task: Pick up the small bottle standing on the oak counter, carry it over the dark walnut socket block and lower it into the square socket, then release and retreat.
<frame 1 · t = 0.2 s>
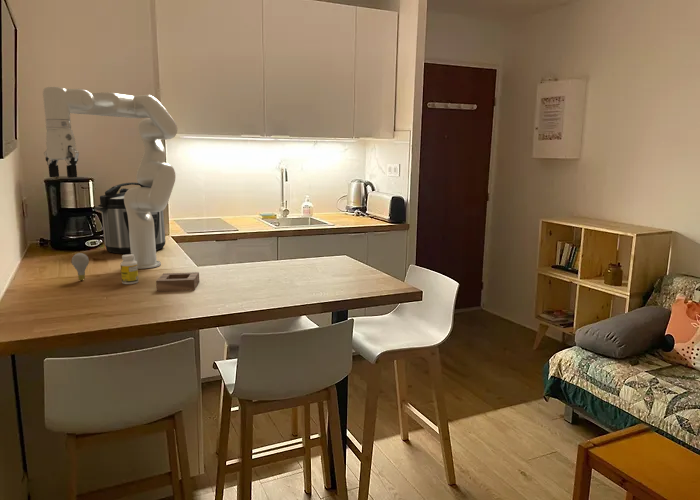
hand: (63, 177, 188), 37 cm above the worktop, tool pointing down, fingers open, 9 cm apart
pressure cooker: (136, 250, 262), on the worktop
socket block: (178, 286, 187), on the worktop
supplement bottle: (130, 283, 193), on the worktop
light bulb: (82, 281, 197), on the worktop
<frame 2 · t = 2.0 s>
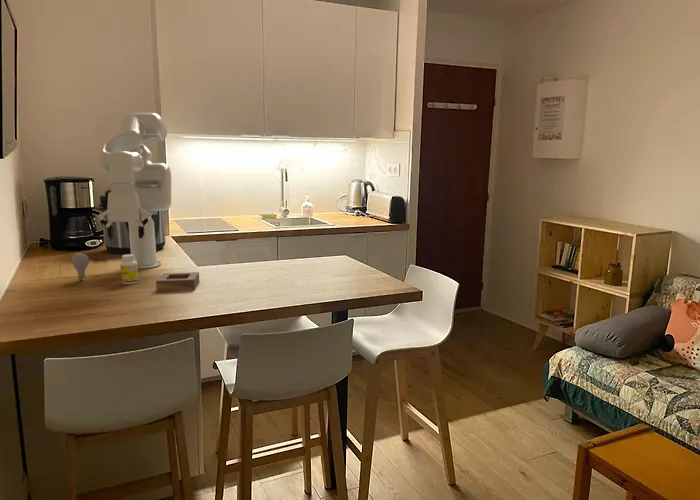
hand: (126, 238, 190), 16 cm above the worktop, tool pointing down, fingers open, 9 cm apart
nothing on the worktop moved.
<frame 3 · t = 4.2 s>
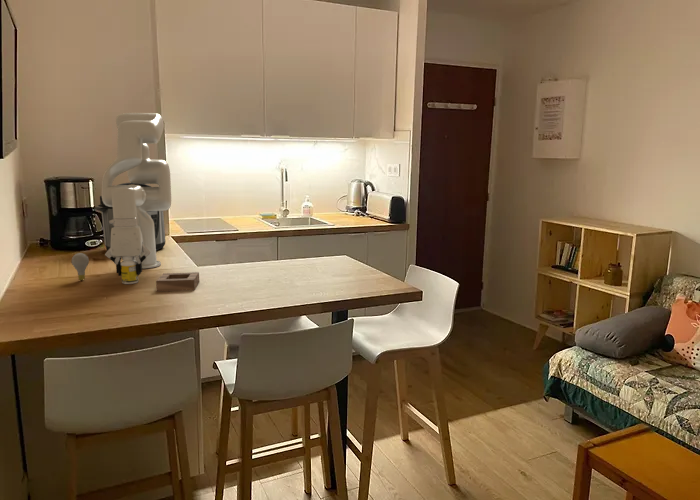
hand: (129, 274, 193), 3 cm above the worktop, tool pointing down, fingers closed on supplement bottle, 5 cm apart
supplement bottle: (130, 283, 193), on the worktop, touching gripper
everything else where it was.
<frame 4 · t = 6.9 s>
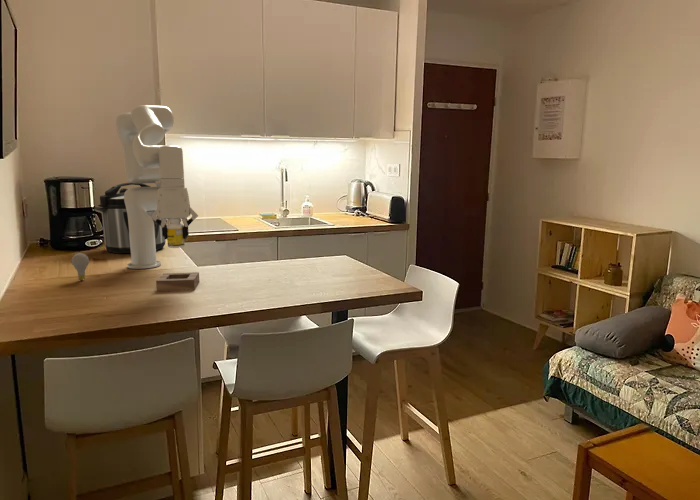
hand: (175, 238, 184), 17 cm above the worktop, tool pointing down, fingers closed on supplement bottle, 5 cm apart
supplement bottle: (176, 247, 185), point 13 cm above the worktop, touching gripper
everything else where it was.
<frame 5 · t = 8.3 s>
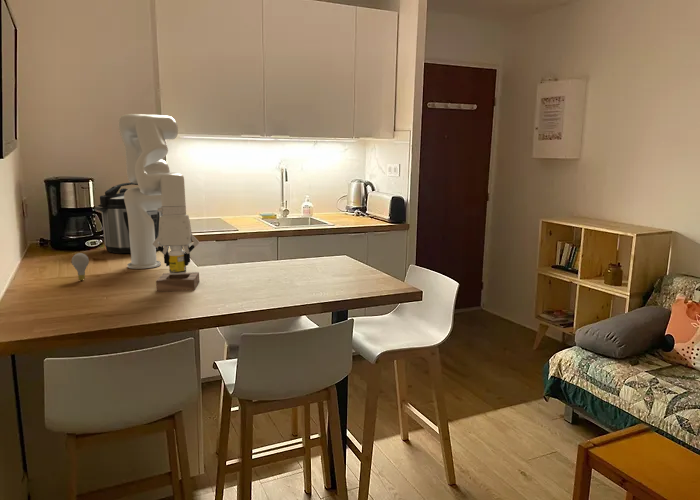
hand: (177, 264, 186), 8 cm above the worktop, tool pointing down, fingers closed on supplement bottle, 5 cm apart
supplement bottle: (178, 273, 186), point 4 cm above the worktop, touching gripper
everything else where it was.
when the fingers open (5 cm above the worktop, at t = 9.7 s): supplement bottle drops 2 cm, resting in socket block.
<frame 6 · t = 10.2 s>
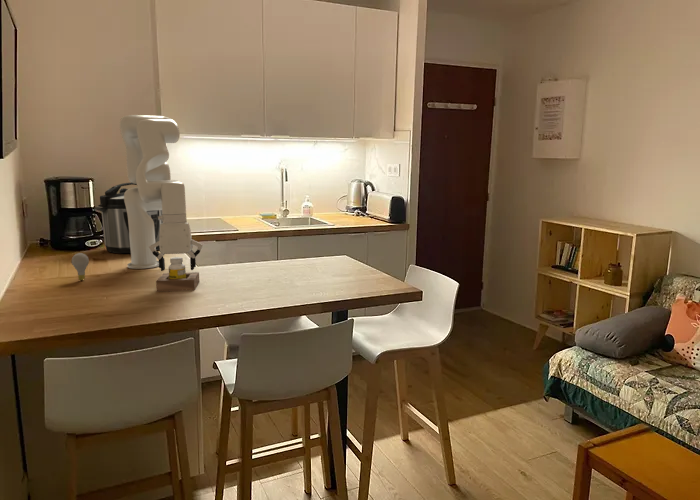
hand: (177, 269, 186), 6 cm above the worktop, tool pointing down, fingers open, 9 cm apart
supplement bottle: (178, 287, 187), resting in socket block
everything else where it was.
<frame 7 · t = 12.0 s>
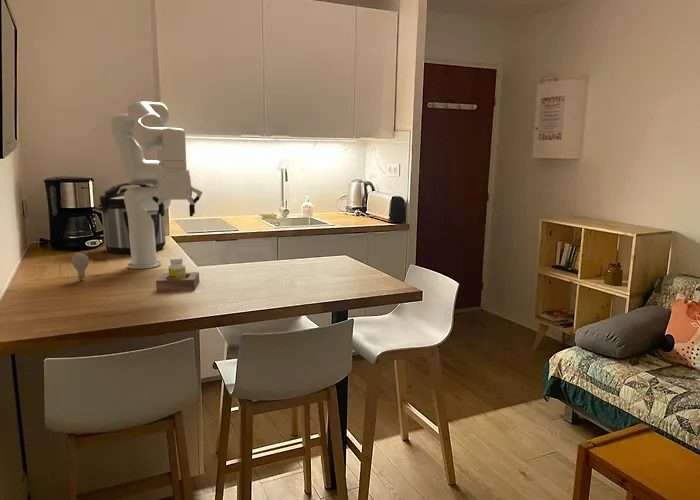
hand: (177, 216, 190), 23 cm above the worktop, tool pointing down, fingers open, 9 cm apart
nothing on the worktop moved.
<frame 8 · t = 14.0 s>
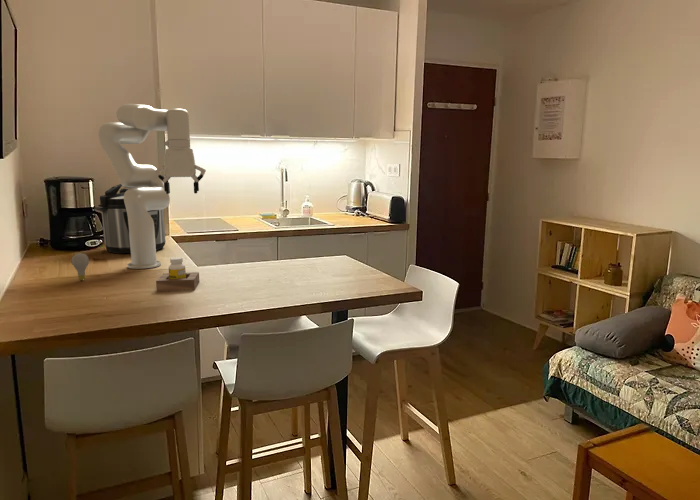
hand: (182, 193, 198), 30 cm above the worktop, tool pointing down, fingers open, 9 cm apart
nothing on the worktop moved.
at the end: supplement bottle 0.2 cm off-centre on the socket block, point 0.0 cm above the socket block's base; supplement bottle tilted 0°; the gripper is holding nothing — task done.
